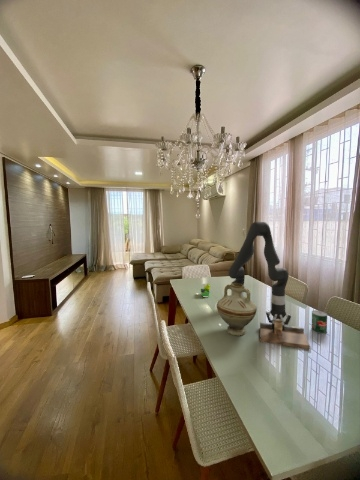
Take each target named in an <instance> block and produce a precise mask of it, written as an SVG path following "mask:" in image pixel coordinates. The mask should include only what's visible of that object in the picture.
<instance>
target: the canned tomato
mask: <svg viewBox="0 0 360 480" xmlns="http://www.w3.org/2000/svg"><path fill="white" fill-rule="evenodd" d="M311 330H312V331H313V332H314V333H316V332H317V333H316V334H320V333H321V334H327V332H328V313H327V312H325V311H323V310H312V311H311ZM321 334H320V335H321Z"/></svg>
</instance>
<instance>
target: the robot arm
mask: <svg viewBox="0 0 360 480" xmlns="http://www.w3.org/2000/svg"><path fill="white" fill-rule="evenodd" d="M257 237H262V238H263V240H264V247H263V255H264V259H265V261H266V263H267V274H268V277H269V279H270V280H271V281H272V282H276V283H274V284H272V285H271V297H270V298H271V299H270V304H271V305H270V308H271V309H270V311H265V315H266V318H267V322H269V323H268V324H272V329H273V330H274V321H275V320H276V319H280V320H281V322H282V331H283V330H284V326H289V322H290V320H291V319H292V316H291V314H290V313H287V312H286V286H287V284H288V281H289V272H288V269H286V268H284V267H280V268H279V267H277V268H276V266H278V265H279V264H280V263H281V262H280V259H279V256H278V253H277V250H276V249H275V248H276V247H275V244H274V240H273V236H272V231H271V227H270V225H269V223H267V222H265V221H254V222H252V223H251V224H250V226H249V229H248V231H247V234H246V237H245V240H244V242H243V244H242V246H241V247H240V250H239V252H238V254H237V256H236V258H235V259H234V261H233V262H232V265H230V267H229V270H228V276H229V277H230V279H233V281H232V282H231V283H230V285H231V284H233V283H237V284H242V285H244V286H245V278H246V277H245V276H246V272H245V268H244V267H243V266H244V265H245V264H246V263H248V262H249V261H250V260H251V259H252V257H253V255H254V253H255V246H254V245H255V244H254V242H255V240H256V238H257ZM230 291H231V292H230V295H232V294H233V291H232V290H231V289H230ZM244 293H245V292H242V293H241V295H242V296H244ZM244 297H245V296H244ZM270 316H272V319H271V317H270ZM285 317H286V319H285V320H284V318H285Z"/></svg>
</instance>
